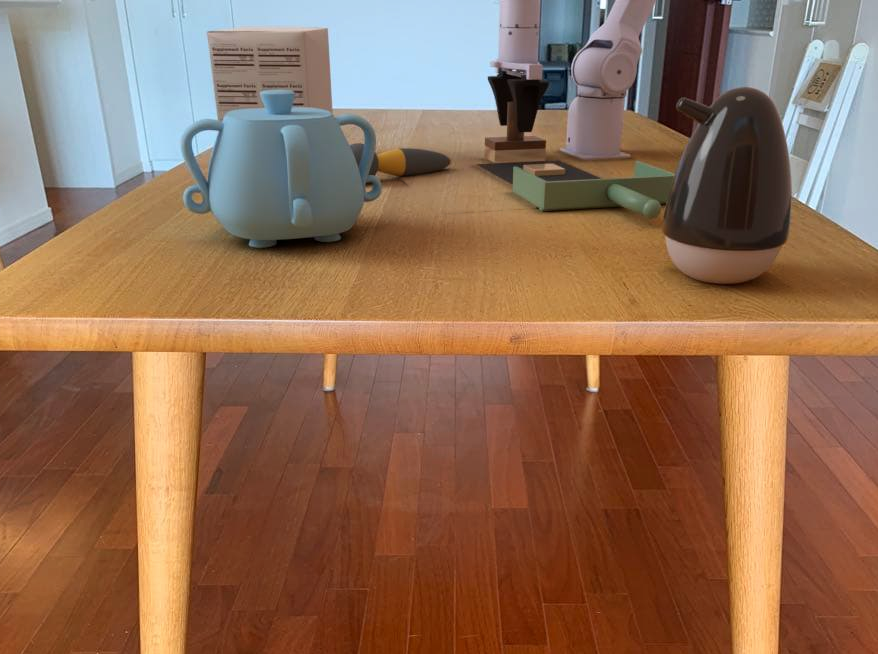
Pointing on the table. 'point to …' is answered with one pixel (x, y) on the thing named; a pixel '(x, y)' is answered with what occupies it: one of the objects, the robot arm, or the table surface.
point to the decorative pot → (282, 172)
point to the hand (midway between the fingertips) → (515, 128)
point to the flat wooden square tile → (544, 169)
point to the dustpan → (598, 191)
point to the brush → (514, 144)
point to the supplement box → (269, 66)
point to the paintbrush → (403, 161)
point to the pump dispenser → (730, 190)
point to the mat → (506, 174)
